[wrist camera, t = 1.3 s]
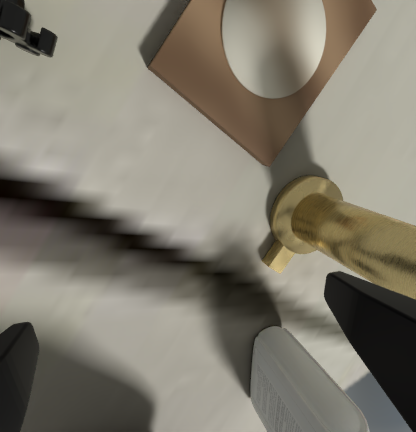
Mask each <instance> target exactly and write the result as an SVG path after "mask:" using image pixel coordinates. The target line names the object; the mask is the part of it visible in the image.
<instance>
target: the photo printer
mask: <svg viewBox="0 0 416 432" xmlns="http://www.w3.org/2000/svg"><path fill="white" fill-rule="evenodd" d="M251 401H252V404H253V407H254V409H255V410H256V412H257V414H258V416H259V418H260V419H261V421H262V423H263V425H264V426H265V428H266V430H267V432H369V427H368V424H367V421H366V419H365V417H364V415H363V413H362V412H361V410H360V409H359V408H358V407H357V405H355V403H354V402H353V401H352V400H351V399H350V398H349V397H348V395H347V394H346V393H345V392H344V391H343V390H342V389H341V388H340V387H339V386H338V384H337V383H336V382H335V381H334V380H333V379H332V378H331V377H330V376H329V374H328V373H327V372H326V371H325V370H324V369H323V368H322V367H321V366H320V364H319V363H318V362H317V361H316V360H315V359H314V358H313V357H312V356H311V355H310V354H309V352H308V351H307V350H306V349H305V348H304V347H303V346H302V345H301V344H300V343H299V342H298V340H297V339H296V338H295V337H294V336H293V335H292V334H291V333H290V332H289V331H288V330H287V329H285V328H283V329H282V328H281V327H278V326H272V327H268V328H266V329H264V330H263V331H261V332H260V333H259V334H258V337H256V338H255V342H254V347H253V357H252V371H251Z"/></svg>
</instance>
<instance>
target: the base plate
mask: <svg viewBox="0 0 416 432" xmlns="http://www.w3.org/2000/svg"><path fill="white" fill-rule="evenodd" d="M376 10H377V9H376V7H375V6H374V4H373V2H372V1H371V0H190V1H189V3H188V5H187V6H186V8H185V9H184V11H183V12H182V14H181V16H180V17H179V19H178V20H177V22H176V23H175V25H174V26H173V28H172V30H171V31H170V33H169V34H168V36H167V37H166V39H165V41H164V42H163V44H162V45H161V47H160V48H159V50H158V52H157V53H156V55H155V56H154V58H153V59H152V61H151V63H150V64H149V66H148V67H147V68H148V69H149V70H150V71H152V72H153V73H154V74H155V75H156V76H158V77H159V78H160V79H161V80H162V81H164V82H165V83H166V84H167V85H168V86H169V87H171V88H172V89H173V90H174V91H175V92H177V93H178V94H179V95H180V96H181V97H183V98H184V99H185V100H186V101H187V102H189V103H190V104H191V105H192V106H193V107H194V108H196V109H197V110H198V111H199V112H200V113H202V114H203V115H204V116H205V117H206V118H208V119H209V120H210V121H211V122H212V123H213V124H215V125H216V126H217V127H218V128H219V129H221V130H222V131H223V132H224V133H225V134H227V135H228V136H229V137H230V138H231V139H233V140H234V141H235V142H236V143H237V144H238V145H240V146H241V147H242V148H243V149H244V150H246V151H247V152H248V153H249V154H250V155H252V156H253V157H254V158H255V159H256V160H257V161H259V162H260V163H261V164H262V165H265V166H268V167H270V165H271V164H272V162H273V161H274V159H275V158H276V156H277V155H278V153H279V152H280V150H281V149H282V148H283V146H284V145H285V143H286V142H287V140H288V139H289V137H290V136H291V134H292V133H293V131H294V130H295V129H296V127H297V126H298V124H299V123H300V121H301V120H302V118H303V117H304V115H305V114H306V112H307V111H308V110H309V108H310V107H311V105H312V104H313V102H314V101H315V99H316V98H317V96H318V95H319V93H320V92H321V91H322V89H323V88H324V86H325V85H326V83H327V82H328V80H329V79H330V77H331V76H332V74H333V73H334V72H335V70H336V69H337V67H338V66H339V64H340V63H341V61H342V60H343V58H344V57H345V55H346V54H347V53H348V51H349V50H350V48H351V47H352V45H353V44H354V42H355V41H356V39H357V38H358V36H359V35H360V34H361V32H362V31H363V29H364V28H365V26H366V25H367V23H368V22H369V20H370V19H371V17H372V16H373V15H374V13H375V12H376Z"/></svg>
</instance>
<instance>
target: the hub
mask: <svg viewBox="0 0 416 432" xmlns="http://www.w3.org/2000/svg"><path fill="white" fill-rule="evenodd" d="M270 227H271V231H272V234H273V236H274V238H275V239H276V241H275V243H274V244H273V245H272V247H271V248H270V250H269V251H268V253H267V254H266V255H265V257H264V258H263V260H262V262H264V263H265V264H266V265H267V266H268V267H270V268H271V269H273V270H275V271H276V272H278V273H280V274H281V272H282V271H283V269H284V268H285V267H286V265H287V264H288V262H289V261H290V259H291V258H292V257H293V255H294V254H295V253H297V254H307V253H311V252H314V251H316V250H318V251H320V252H322V253H323V254H325V255H327V256H328V257H330V258H332V259H333V260H335V261H337V262H338V263H340V264H342V265H343V266H345V267H347V268H349V269H350V270H352V271H354V272H355V273H357V274H359V275H360V276H362V277H364V278H365V279H367V280H369V281H370V282H372V283H374V284H376V285H379V286H381V287H384V288H387V289H389V290H392V291H395V292H397V293H400V294H403V295H405V296H408V297H411V298H413V299H416V226H414V225H411V224H408V223H405V222H402V221H400V220H397V219H394V218H391V217H388V216H385V215H382V214H379V213H376V212H373V211H370V210H368V209H365V208H362V207H359V206H356V205H353V204H350V203H347V202H344V201H343V197H342V194H341V192H340V190H339V188H338V187H337V185H336V184H335V183H333V182H332V181H330V180H328V179H325V178H321V177H317V176H312V175H307V176H302V177H299V178H297V179H295V180H293V181H291V182H290V183H289V184H287V185H286V186H285V187H284V188H283V189H282V191H281V192H280V193H279V195H278V196H277V198H276V200H275V202H274V204H273V207H272V210H271V215H270Z"/></svg>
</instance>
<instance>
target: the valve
mask: <svg viewBox="0 0 416 432" xmlns="http://www.w3.org/2000/svg"><path fill="white" fill-rule="evenodd" d="M24 8H25V3H24V0H0V40H1V37H2V38H4V39H6V40H9V41H11V42H13V43H15V45H16V46H17V47H18V48H20V49H22V50H24V51H26V52H28V53H31V54H33V55H36V56H40V54H42V55H44V56H47V57H53V53H54V50H55V46H56V42H57V36H56V35H55V34H54V33H52V32H50V31H49V30H47V29H45V28H43V27H42V28H41V32H40V34H39V33H36V32H32V31H31V30H30V29H29V24H30V20H31V15H30V14H29V13H28V12H27V11H26V10H24Z"/></svg>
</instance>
